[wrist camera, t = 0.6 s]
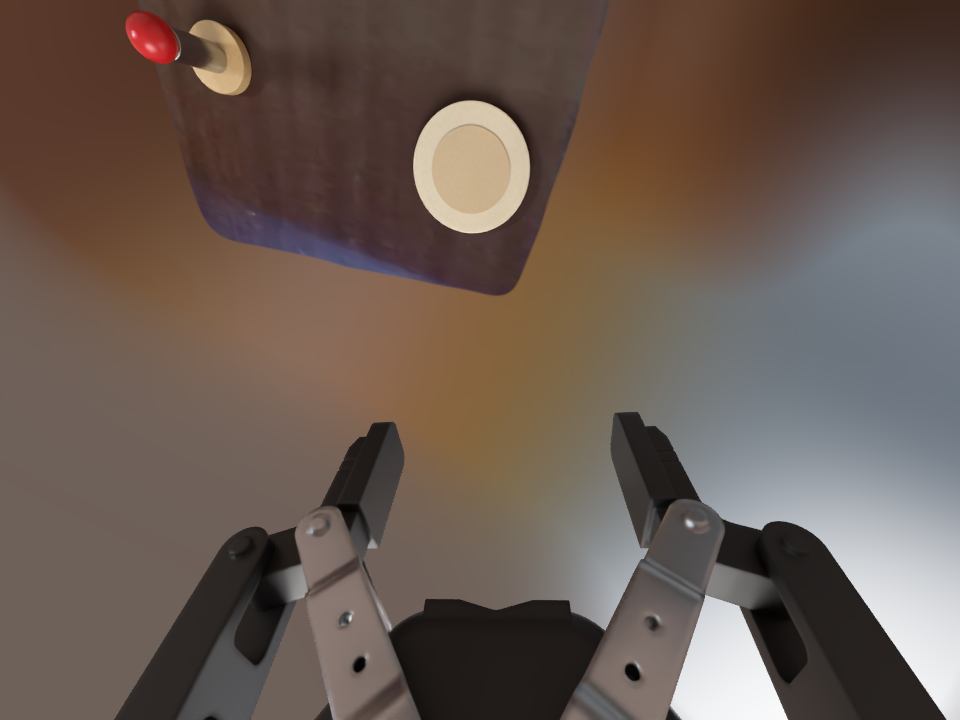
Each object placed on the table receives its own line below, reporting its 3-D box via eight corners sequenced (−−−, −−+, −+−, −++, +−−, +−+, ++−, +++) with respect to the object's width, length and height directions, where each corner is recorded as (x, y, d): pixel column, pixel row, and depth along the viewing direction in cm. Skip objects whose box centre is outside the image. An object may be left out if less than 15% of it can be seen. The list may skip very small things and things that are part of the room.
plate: (407, 106, 36) (404, 105, 35) (530, 96, 35) (530, 94, 34) (423, 234, 42) (421, 235, 41) (529, 230, 40) (529, 231, 39)
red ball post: (187, 27, 35) (83, -13, 27) (239, 20, 35) (148, -24, 26) (210, 97, 38) (121, 80, 30) (259, 93, 37) (182, 74, 29)
